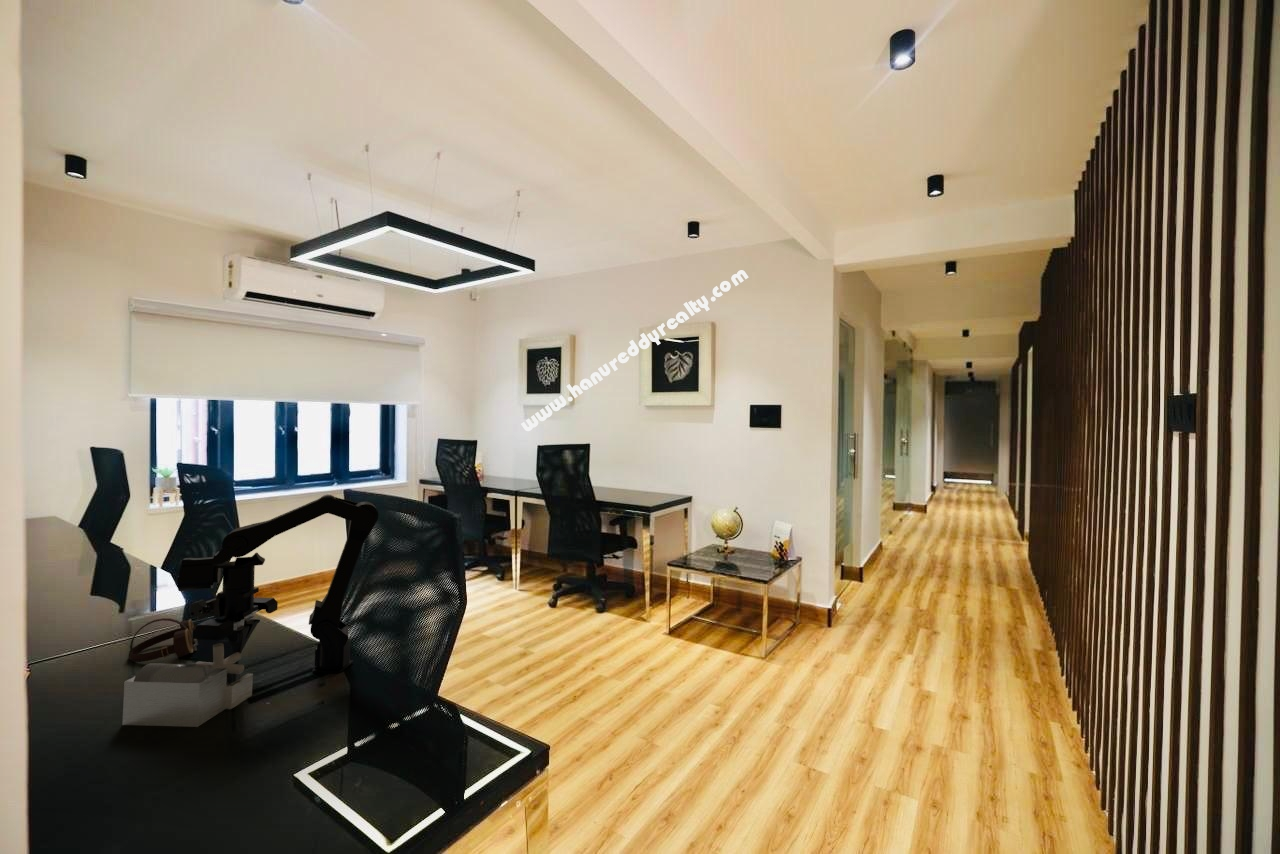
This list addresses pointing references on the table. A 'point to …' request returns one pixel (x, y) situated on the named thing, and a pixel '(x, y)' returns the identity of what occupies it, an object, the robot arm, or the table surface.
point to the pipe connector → (224, 660)
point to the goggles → (180, 640)
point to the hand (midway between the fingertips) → (236, 655)
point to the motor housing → (180, 694)
